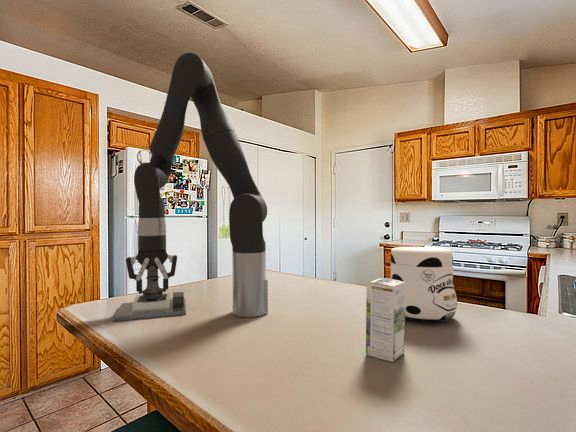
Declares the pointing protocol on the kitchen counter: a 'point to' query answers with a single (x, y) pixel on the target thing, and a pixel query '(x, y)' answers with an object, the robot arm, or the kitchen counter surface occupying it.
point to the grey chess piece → (152, 286)
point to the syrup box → (385, 319)
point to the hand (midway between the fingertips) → (152, 292)
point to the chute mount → (152, 307)
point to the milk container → (425, 282)
